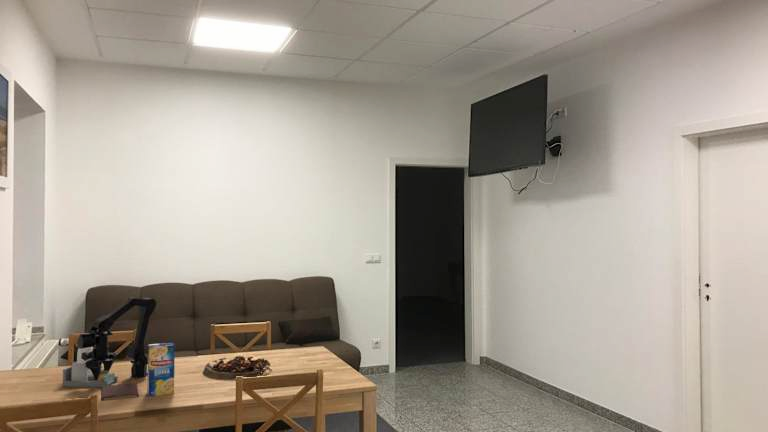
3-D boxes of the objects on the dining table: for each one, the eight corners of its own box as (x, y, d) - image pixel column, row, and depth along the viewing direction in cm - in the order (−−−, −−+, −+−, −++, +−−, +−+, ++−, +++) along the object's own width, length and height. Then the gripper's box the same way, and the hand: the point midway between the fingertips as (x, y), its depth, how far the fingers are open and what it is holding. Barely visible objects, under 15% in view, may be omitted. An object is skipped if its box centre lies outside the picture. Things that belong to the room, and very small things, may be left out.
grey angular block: (87, 384, 285) (87, 363, 286) (71, 385, 283) (71, 364, 283) (87, 382, 289) (88, 361, 289) (72, 383, 286) (72, 362, 287)
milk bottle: (86, 377, 298) (87, 337, 298) (73, 376, 299) (73, 336, 299) (97, 373, 305) (97, 334, 305) (83, 372, 307) (84, 333, 307)
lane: (117, 381, 291) (117, 365, 291) (106, 387, 280) (107, 370, 280) (75, 380, 291) (75, 364, 291) (62, 386, 281) (63, 369, 281)
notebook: (136, 386, 284) (136, 382, 284) (138, 397, 266) (138, 393, 266) (101, 389, 278) (101, 385, 278) (101, 401, 260) (101, 397, 260)
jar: (110, 382, 288) (110, 369, 288) (103, 385, 283) (104, 372, 283) (98, 382, 289) (98, 369, 289) (92, 385, 283) (92, 372, 283)
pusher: (114, 381, 289) (114, 372, 289) (106, 386, 281) (106, 376, 281) (112, 381, 289) (112, 372, 289) (104, 386, 281) (104, 376, 281)
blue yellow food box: (147, 392, 272) (147, 344, 272) (172, 389, 277) (172, 342, 277) (148, 396, 266) (149, 347, 266) (174, 393, 271) (174, 345, 271)
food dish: (256, 363, 336) (257, 349, 336) (280, 377, 308) (280, 362, 308) (193, 369, 317) (194, 354, 317) (213, 384, 289) (213, 368, 289)
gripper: (95, 341, 295) (94, 372, 295) (74, 349, 277) (73, 382, 277) (117, 341, 295) (116, 373, 295) (97, 349, 276) (97, 383, 276)
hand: (101, 377), depth 286 cm, fingers open, 9 cm apart
